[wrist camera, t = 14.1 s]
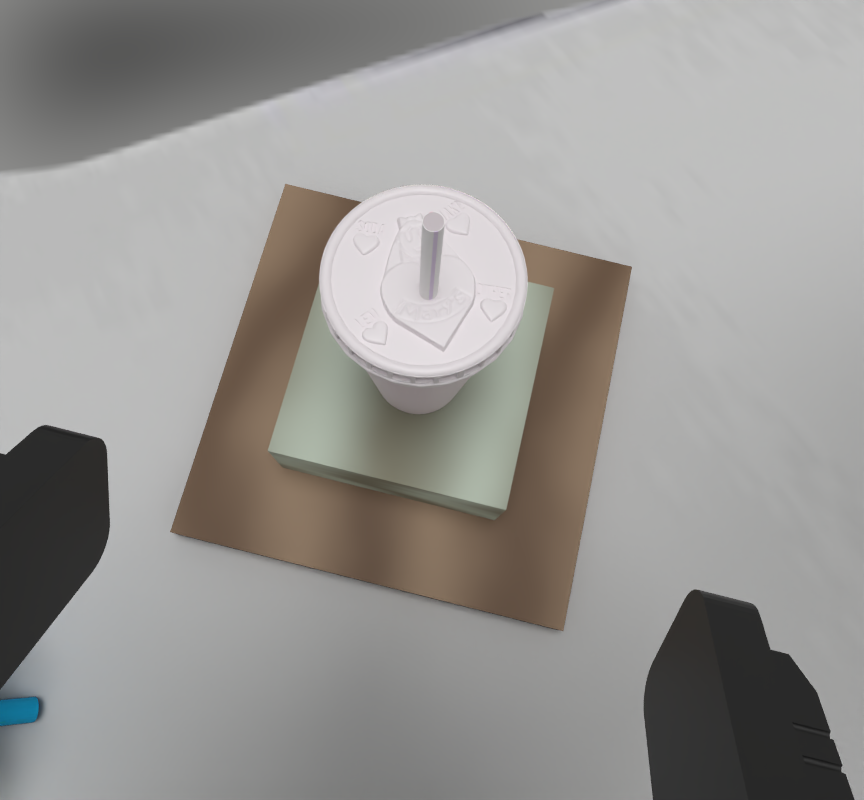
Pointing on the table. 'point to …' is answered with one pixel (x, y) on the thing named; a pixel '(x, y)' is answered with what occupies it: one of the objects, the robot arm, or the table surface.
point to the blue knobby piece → (18, 711)
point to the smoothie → (422, 291)
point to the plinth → (383, 522)
